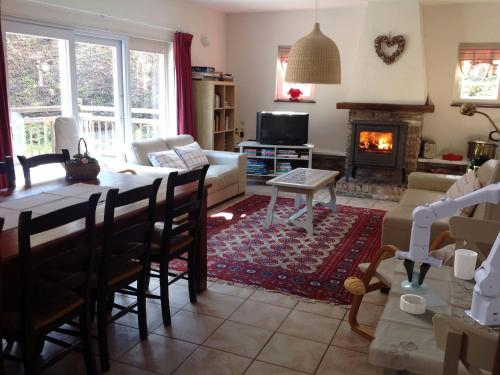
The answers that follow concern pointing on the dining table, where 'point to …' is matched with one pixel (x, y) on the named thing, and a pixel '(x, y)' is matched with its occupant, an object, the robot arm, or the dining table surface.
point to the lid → (415, 285)
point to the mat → (433, 300)
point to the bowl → (413, 304)
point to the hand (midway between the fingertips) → (415, 282)
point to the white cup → (464, 264)
